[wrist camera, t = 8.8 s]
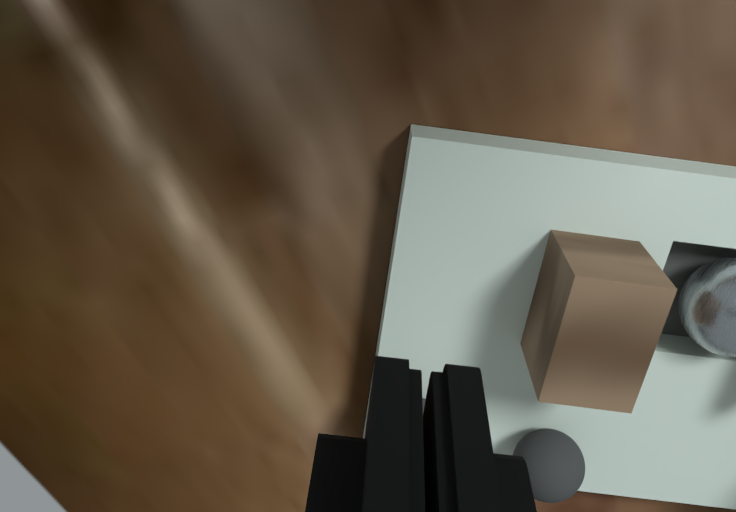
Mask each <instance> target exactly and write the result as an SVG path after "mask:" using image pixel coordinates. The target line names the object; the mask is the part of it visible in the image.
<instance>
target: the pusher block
mask: <svg viewBox="0 0 736 512" xmlns="http://www.w3.org/2000/svg"><path fill="white" fill-rule="evenodd" d="M676 292H677V288H676V287H675V286H674V284H673V283H672V282H671V281H670V279H669V278H668V277H667V276H666V274H665V273H664V272H663V270H662V269H661V268H660V267H659V265H658V264H657V263H656V262H655V260H654V259H653V258H652V257H651V255H650V254H649V253H648V251H647V250H646V249H645V248H644V246H643V245H642V244H641V243H640V241H633V240H625V239H618V238H610V237H603V236H596V235H588V234H581V233H573V232H566V231H558V230H551V231H550V235H549V238H548V242H547V246H546V249H545V253H544V257H543V261H542V264H541V268H540V272H539V275H538V279H537V283H536V287H535V290H534V294H533V298H532V302H531V305H530V309H529V313H528V316H527V320H526V324H525V328H524V331H523V335H522V339H521V342H520V344H521V348H522V351H523V354H524V357H525V361H526V364H527V367H528V370H529V374H530V377H531V380H532V383H533V387H534V390H535V393H536V396H537V400H538V402H545V403H553V404H560V405H568V406H576V407H584V408H592V409H600V410H607V411H615V412H623V413H632V411H633V408H634V405H635V403H636V400H637V397H638V395H639V392H640V389H641V386H642V384H643V381H644V378H645V376H646V373H647V370H648V368H649V365H650V362H651V359H652V357H653V354H654V351H655V349H656V346H657V343H658V341H659V338H660V335H661V333H662V330H663V327H664V324H665V322H666V319H667V316H668V314H669V311H670V308H671V306H672V303H673V300H674V297H675V295H676Z"/></svg>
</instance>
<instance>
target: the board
mask: <svg viewBox="0 0 736 512" xmlns="http://www.w3.org/2000/svg"><path fill="white" fill-rule="evenodd" d="M551 230H558V231H566V232H573V233H581V234H588V235H596V236H603V237H610V238H618V239H625V240H633V241H640V243H641V244H642V245H643V246H644V248H645V249H646V250H647V251H648V253H649V254H650V255H651V257H652V258H653V259H654V260H655V262H656V263H657V264H658V265H659V267H660V268H661V269H662V270H663V272H664V273H665V274H666V276H667V277H668V278H669V279H670V281H671V282H672V283H673V284H674V286H675V287H676V288H677V292H676V295H675V297H674V300H673V303H672V306H671V308H670V311H669V314H668V316H667V319H666V322H665V324H664V327H663V330H662V333H661V335H660V338H659V341H658V343H657V346H656V349H655V351H654V354H653V357H652V359H651V362H650V365H649V368H648V370H647V373H646V376H645V378H644V381H643V384H642V386H641V389H640V392H639V395H638V397H637V400H636V403H635V405H634V408H633V411H632V413H623V412H615V411H607V410H600V409H592V408H584V407H576V406H568V405H560V404H553V403H545V402H538V400H537V396H536V393H535V390H534V387H533V383H532V380H531V377H530V374H529V370H528V367H527V364H526V361H525V357H524V354H523V351H522V348H521V344H520V342H521V339H522V335H523V331H524V328H525V324H526V320H527V316H528V313H529V309H530V305H531V302H532V298H533V294H534V290H535V287H536V283H537V279H538V275H539V272H540V268H541V264H542V261H543V257H544V253H545V249H546V246H547V242H548V238H549V235H550V231H551ZM725 258H736V167H735V166H727V165H719V164H712V163H704V162H696V161H689V160H681V159H673V158H666V157H658V156H651V155H643V154H635V153H628V152H620V151H612V150H605V149H597V148H589V147H582V146H574V145H566V144H559V143H551V142H544V141H536V140H528V139H521V138H513V137H505V136H498V135H490V134H482V133H475V132H467V131H459V130H452V129H444V128H437V127H429V126H421V125H414V124H411V127H410V133H409V140H408V146H407V153H406V159H405V166H404V172H403V179H402V185H401V192H400V198H399V205H398V211H397V218H396V224H395V231H394V237H393V244H392V250H391V257H390V263H389V270H388V276H387V283H386V289H385V296H384V302H383V309H382V316H381V322H380V329H379V335H378V342H377V348H376V355H375V356H383V357H392V358H400V359H409V369H417V370H421V372H422V398H425V399H426V395H427V389H428V384H429V378H430V374H431V372H432V371H434V372H443V368H444V366H445V364H453V365H462V366H471V367H479V368H480V370H481V374H482V381H483V387H484V394H485V401H486V407H487V414H488V421H489V427H490V434H491V440H492V447H493V453H496V454H505V455H513V452H514V449H515V447H516V445H517V443H518V442H519V441H520V440H521V439H522V438H523V437H524V436H525V435H526V434H528V433H529V432H531V431H534V430H537V429H543V428H549V429H555V430H558V431H561V432H563V433H565V434H566V435H568V436H569V437H571V438H572V439H573V440H574V441H575V442H576V444H577V445H578V446H579V448H580V450H581V452H582V454H583V457H584V461H585V476H584V479H583V482H582V484H581V486H580V488H579V489H578V490H577V491H584V492H593V493H601V494H609V495H618V496H626V497H635V498H643V499H652V500H660V501H669V502H677V503H685V504H694V505H702V506H711V507H719V508H728V509H736V357H726V356H722V355H718V354H715V353H712V352H710V351H708V350H706V349H704V348H702V347H701V346H700V345H698V344H697V343H696V342H695V341H694V340H693V339H692V338H691V337H690V336H689V335H688V333H687V332H686V330H685V329H684V327H683V324H682V322H681V319H680V315H679V308H678V304H679V296H680V293H681V290H682V287H683V285H684V284H685V282H686V281H687V279H688V278H689V277H690V275H691V274H692V273H694V272H695V271H696V270H697V269H698V268H700V267H702V266H703V265H705V264H707V263H709V262H712V261H715V260H719V259H725ZM373 369H374V368H373ZM372 376H373V374H372ZM371 384H372V381H371ZM370 392H371V387H370ZM369 400H370V394H369ZM369 400H368V407H369ZM368 407H367V413H366V420H365V426H364V433H363V438H365V430H366V423H367V415H368Z"/></svg>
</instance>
